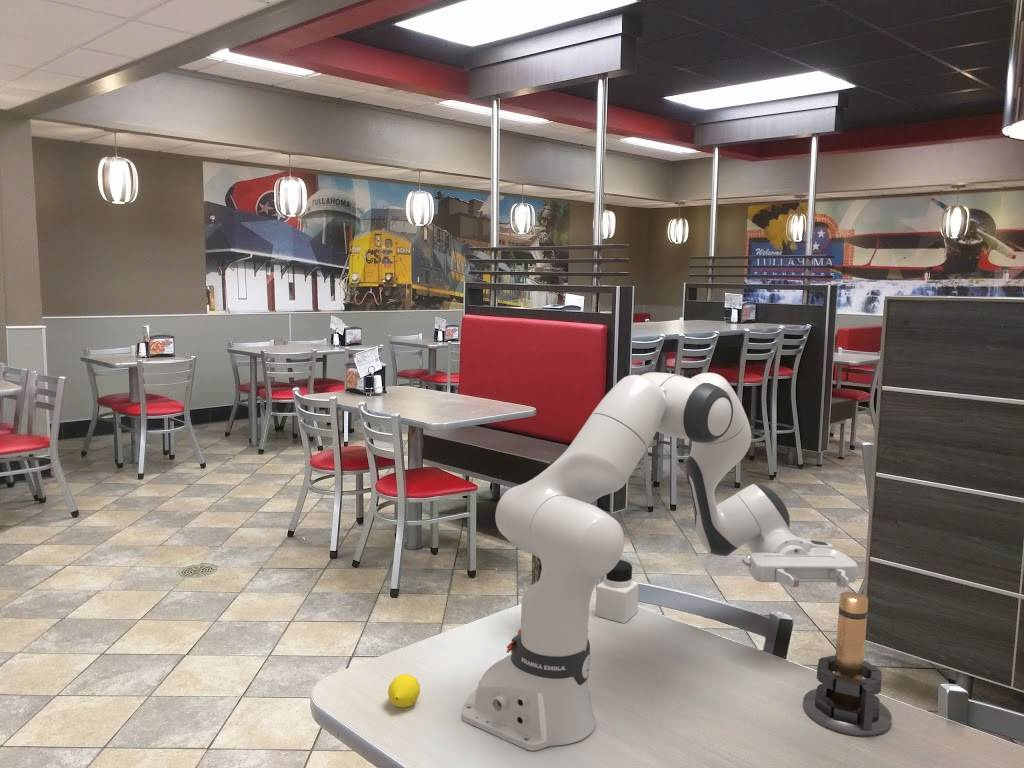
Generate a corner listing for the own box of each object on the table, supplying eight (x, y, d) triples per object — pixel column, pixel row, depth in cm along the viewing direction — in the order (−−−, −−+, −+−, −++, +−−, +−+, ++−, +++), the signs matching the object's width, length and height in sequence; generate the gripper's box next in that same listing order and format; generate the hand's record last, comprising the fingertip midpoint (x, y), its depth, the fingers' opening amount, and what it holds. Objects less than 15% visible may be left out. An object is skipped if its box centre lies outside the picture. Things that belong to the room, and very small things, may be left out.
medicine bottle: (638, 612, 176) (639, 561, 174) (624, 624, 170) (626, 570, 168) (609, 605, 179) (610, 554, 178) (595, 616, 173) (596, 564, 172)
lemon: (396, 696, 140) (397, 666, 140) (425, 701, 139) (426, 670, 139) (380, 712, 133) (382, 680, 133) (410, 716, 132) (412, 684, 132)
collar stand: (798, 723, 132) (801, 678, 131) (807, 685, 145) (810, 644, 144) (890, 745, 126) (894, 698, 125) (891, 704, 139) (894, 661, 138)
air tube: (831, 710, 134) (839, 599, 132) (832, 698, 138) (840, 590, 136) (859, 717, 132) (868, 604, 130) (860, 704, 136) (868, 594, 134)
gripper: (739, 542, 157) (766, 566, 144) (838, 542, 159) (874, 567, 145) (737, 572, 158) (764, 599, 144) (835, 572, 160) (871, 599, 146)
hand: (820, 583), depth 145 cm, fingers open, 8 cm apart
